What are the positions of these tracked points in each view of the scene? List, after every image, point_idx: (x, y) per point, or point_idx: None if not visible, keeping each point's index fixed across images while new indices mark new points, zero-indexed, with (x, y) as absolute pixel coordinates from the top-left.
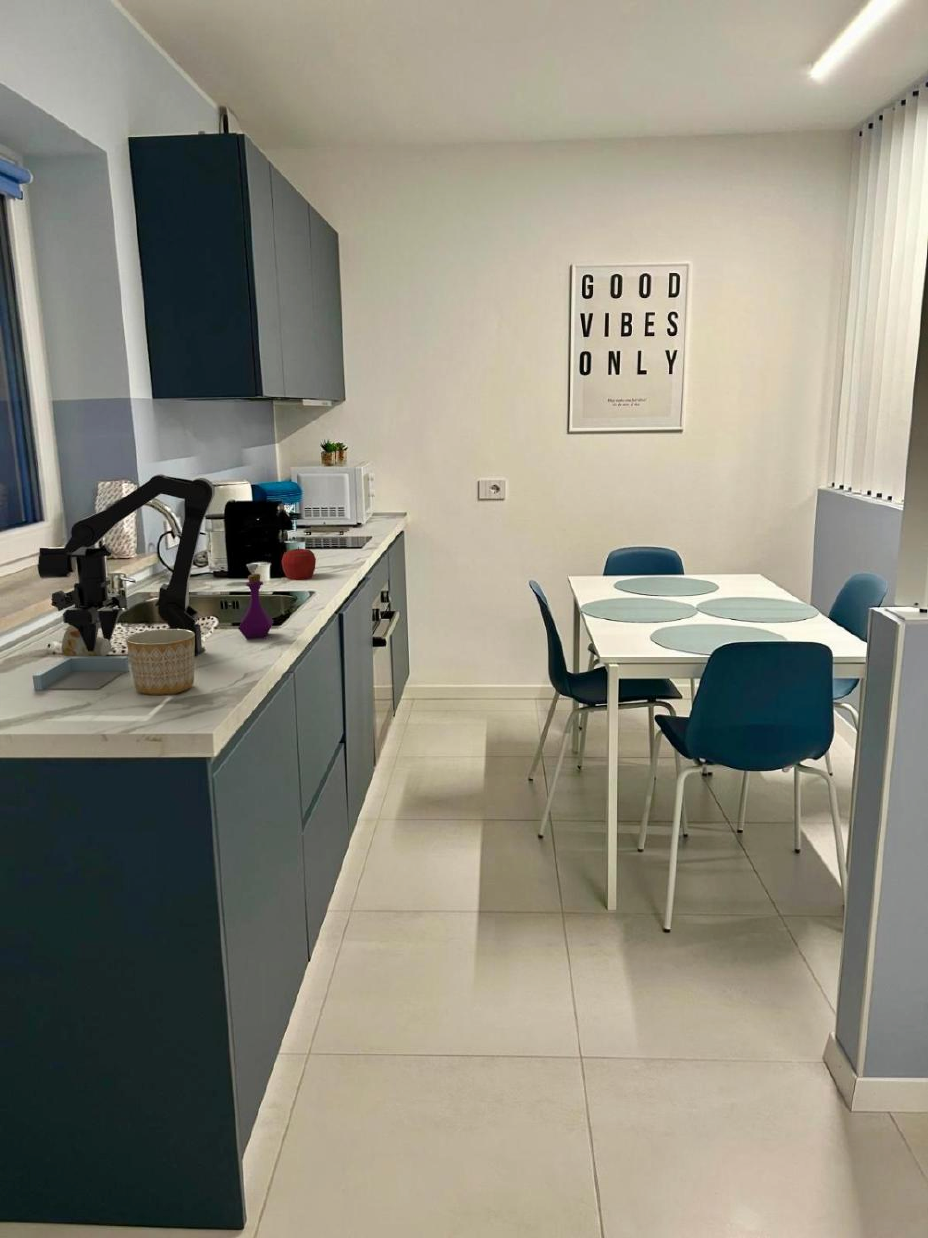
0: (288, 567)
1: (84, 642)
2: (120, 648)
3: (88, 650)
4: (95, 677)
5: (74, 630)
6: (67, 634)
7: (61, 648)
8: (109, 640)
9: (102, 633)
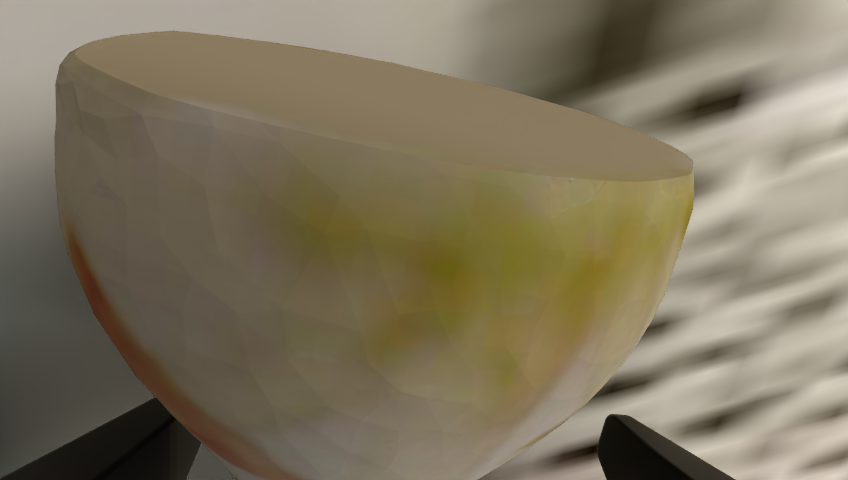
0: None
1: (61, 450)
2: (696, 403)
3: None
4: None
5: (154, 342)
6: (57, 157)
7: (183, 32)
8: (603, 468)
9: (679, 472)
